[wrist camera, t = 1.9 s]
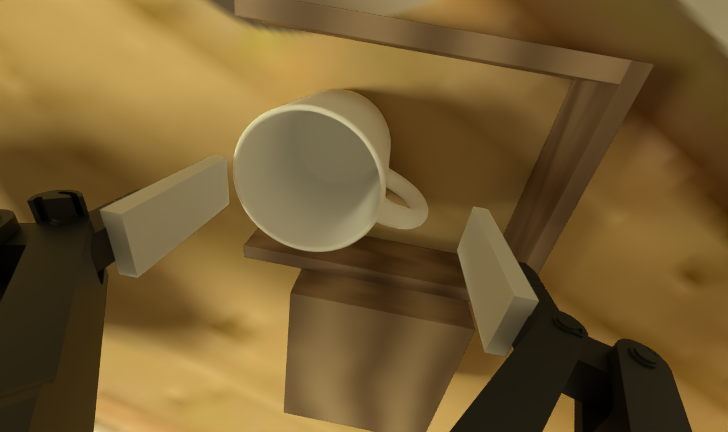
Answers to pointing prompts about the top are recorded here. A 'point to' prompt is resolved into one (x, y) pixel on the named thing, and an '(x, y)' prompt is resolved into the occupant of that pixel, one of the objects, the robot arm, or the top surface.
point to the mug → (322, 173)
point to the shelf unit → (422, 265)
